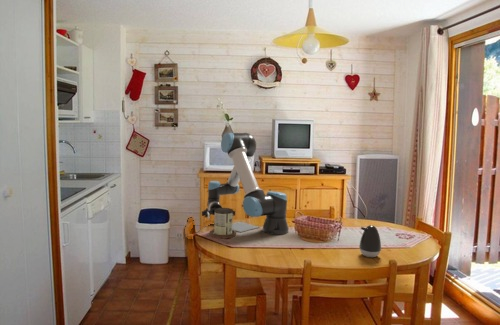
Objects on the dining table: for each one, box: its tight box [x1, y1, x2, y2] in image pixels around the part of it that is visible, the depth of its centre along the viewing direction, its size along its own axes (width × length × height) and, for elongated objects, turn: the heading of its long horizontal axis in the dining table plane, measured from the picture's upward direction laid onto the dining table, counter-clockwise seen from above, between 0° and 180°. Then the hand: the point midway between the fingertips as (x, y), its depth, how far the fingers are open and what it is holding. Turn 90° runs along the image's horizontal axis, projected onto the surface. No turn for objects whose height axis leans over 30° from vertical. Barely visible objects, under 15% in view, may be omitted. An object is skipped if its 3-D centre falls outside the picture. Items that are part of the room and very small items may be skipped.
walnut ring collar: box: [209, 228, 237, 239], centre depth 222 cm, size 14×14×2 cm
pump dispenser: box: [359, 224, 382, 258], centre depth 194 cm, size 10×10×15 cm
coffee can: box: [213, 207, 234, 235], centre depth 222 cm, size 10×10×14 cm
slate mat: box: [232, 221, 260, 233], centre depth 238 cm, size 16×16×1 cm
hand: (220, 216), depth 231 cm, fingers open, 13 cm apart
